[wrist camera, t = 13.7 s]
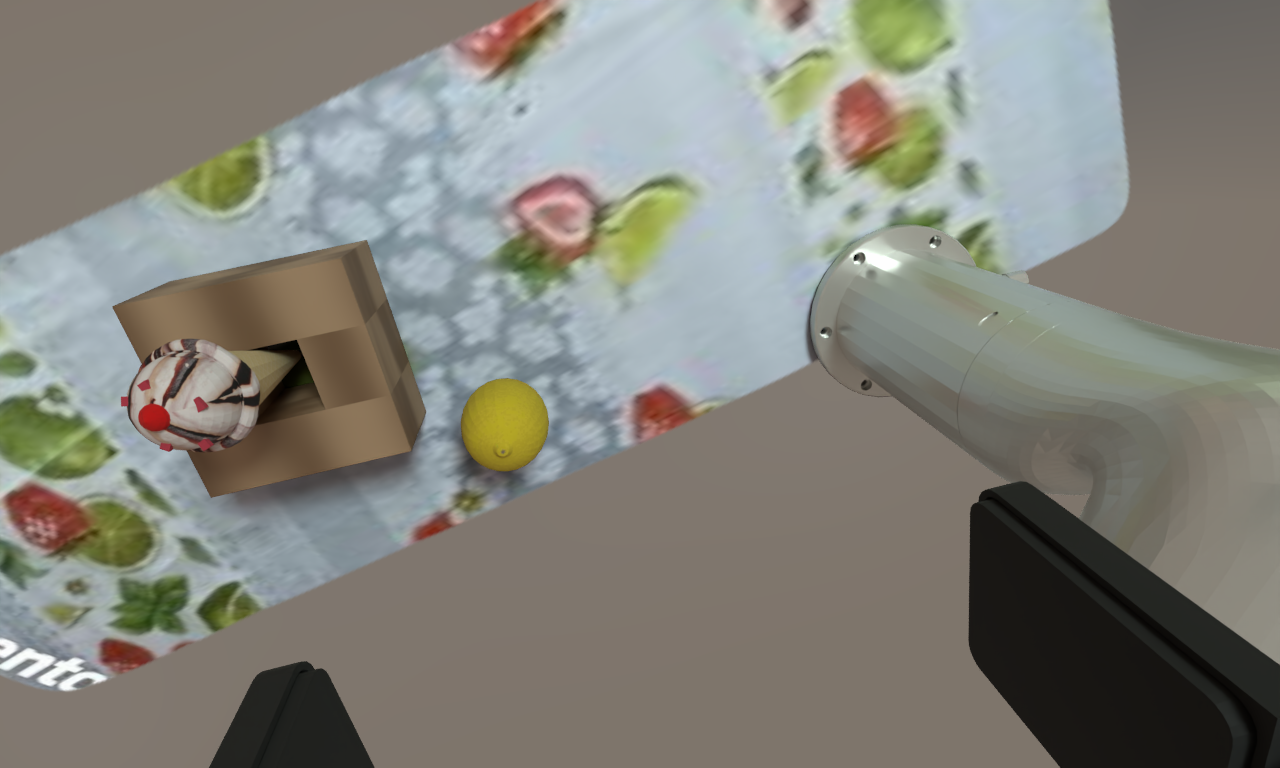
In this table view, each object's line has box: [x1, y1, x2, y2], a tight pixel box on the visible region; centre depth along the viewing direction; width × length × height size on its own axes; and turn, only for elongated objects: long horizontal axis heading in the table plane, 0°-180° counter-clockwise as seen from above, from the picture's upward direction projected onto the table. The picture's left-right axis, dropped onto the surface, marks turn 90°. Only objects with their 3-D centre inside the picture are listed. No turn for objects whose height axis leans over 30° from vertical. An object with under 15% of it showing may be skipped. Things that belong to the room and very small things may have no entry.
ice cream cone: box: [121, 339, 303, 453], centre depth 36 cm, size 6×6×15 cm
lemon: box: [461, 378, 549, 471], centre depth 43 cm, size 6×6×8 cm
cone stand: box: [113, 240, 426, 498], centre depth 40 cm, size 12×12×6 cm
